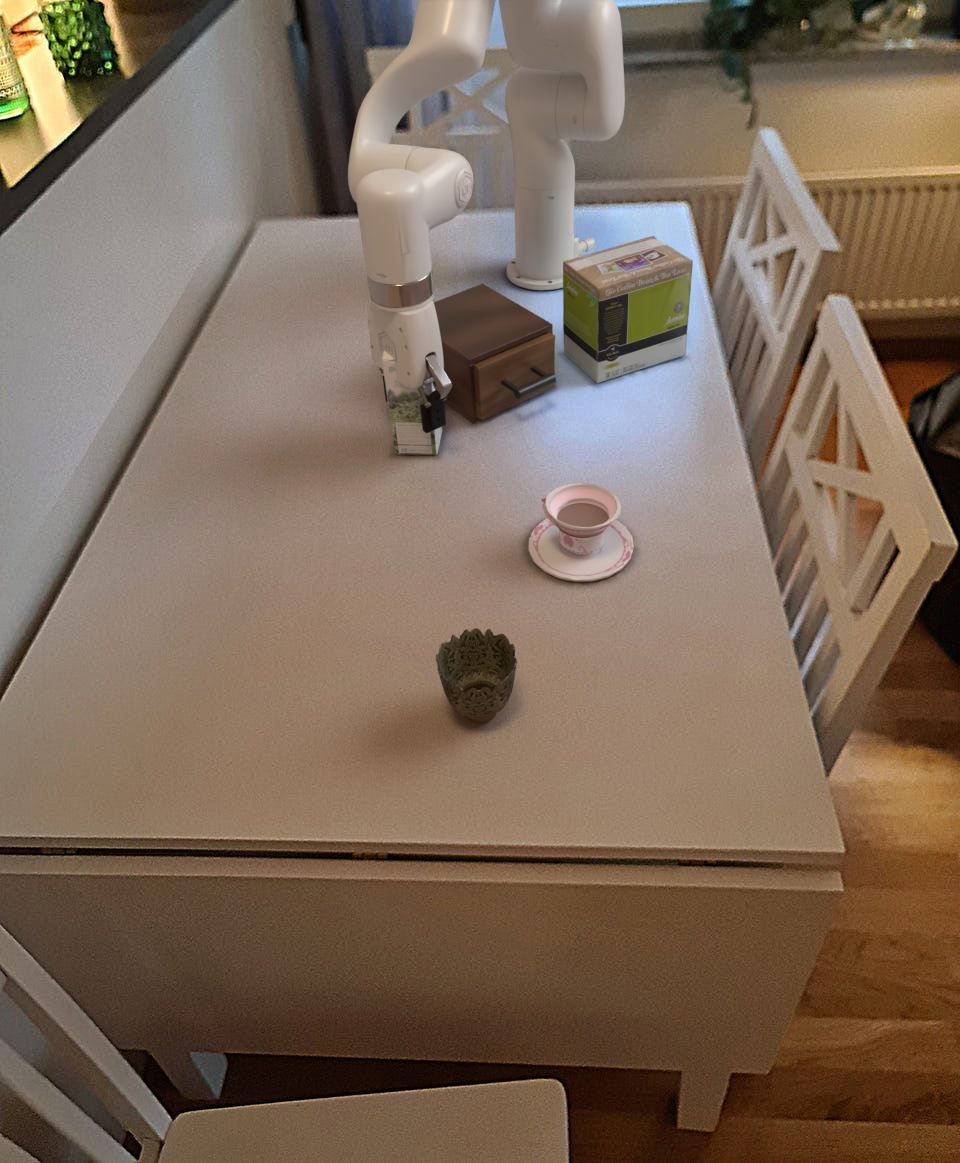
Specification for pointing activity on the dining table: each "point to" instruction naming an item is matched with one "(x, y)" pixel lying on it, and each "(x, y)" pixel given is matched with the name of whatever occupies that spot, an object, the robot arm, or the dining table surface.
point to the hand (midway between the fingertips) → (415, 412)
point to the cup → (477, 673)
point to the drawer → (514, 375)
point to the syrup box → (408, 414)
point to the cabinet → (479, 337)
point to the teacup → (581, 534)
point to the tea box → (626, 307)
